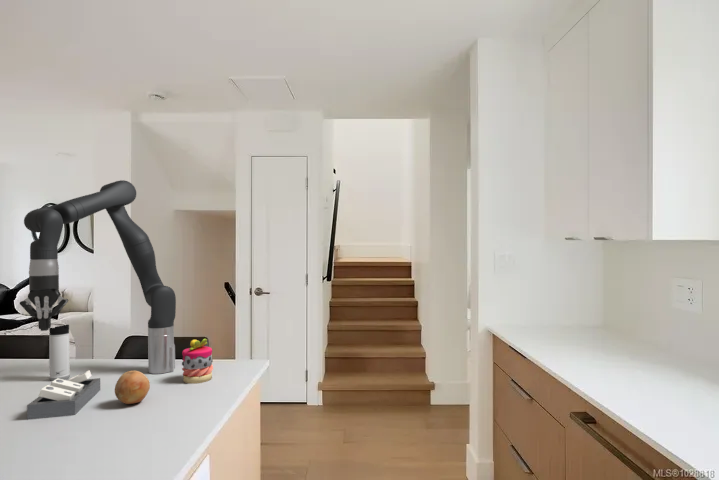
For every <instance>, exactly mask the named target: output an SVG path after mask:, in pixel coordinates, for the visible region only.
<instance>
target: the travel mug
mask: <svg viewBox="0 0 719 480" xmlns="http://www.w3.org/2000/svg"><path fill="white" fill-rule="evenodd" d="M48 331H49V337H48V338H49V340H48V341H49V344H48V346H49V350H48V351H49V353H48V354H49V356H48V357H49V361H48V362H49V365H48V366H49V381H50V382H52V381H54V380H55V379H57V378H59V379H63V380H66V379H69V378H71V374H70V371H71V370H70V369H71V367H70V363H71V362H70V354H71V353H70V324H63V325H57V326H55V327H50V328H49V330H48Z"/></svg>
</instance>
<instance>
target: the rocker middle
mask: <svg viewBox="0 0 719 480" xmlns="http://www.w3.org/2000/svg"><path fill="white" fill-rule="evenodd" d="M50 382H51V383H50V385H49V386H54V387H58V388H62V389H66V390H70V391H74V392H80V391H81V390H82V389H83V387H84V385H83V384H79V383H75V382H71V381H67V380H66V379H65V380H63V379H59V378H57V379H55V380H54V381H50Z"/></svg>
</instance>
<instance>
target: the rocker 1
mask: <svg viewBox="0 0 719 480" xmlns="http://www.w3.org/2000/svg"><path fill="white" fill-rule="evenodd" d="M75 393H76V392H74V391H70V390H66V389H62V388H58V387H54V386H50V385H48V384H47V385H46V386H44V387H42V388H41V389H40V390H39V393H38V397H39V396H40V397H44V398H48V399H53V400H57V401H60V400H71V399H72V398H73V397H74V395H75Z"/></svg>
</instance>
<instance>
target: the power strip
mask: <svg viewBox="0 0 719 480" xmlns="http://www.w3.org/2000/svg"><path fill="white" fill-rule="evenodd" d="M79 384H83V385H84V387H83V389H82V390H81V391H80V392H76V393H75V395H74V397H73V398H72V399H71V400H60V401H57V400H53V399H48V398H44V397H40V396H39V395H38V397H37V398H35V399H34V400H31V402H29V403H28V404H27V405H26V407H27V408H26V409H27V411H26V412H27V414H26V415H27V420H36V419H43V418H44V419H46V418H56V417H58V418H59V417H65V416H66V417H68V416H76V414H77V413H79V412H80V411H81V410H82V409H83V408H84V407H85V406H86V405H87V404H88V403H89V402H90V401H91V400H92V399H93V398H94V397H95V396H96V395H97V394H98V393H99V392H100V391H101V377H99V378H88V379H87V380H85V381H82V382H80V383H79Z"/></svg>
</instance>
